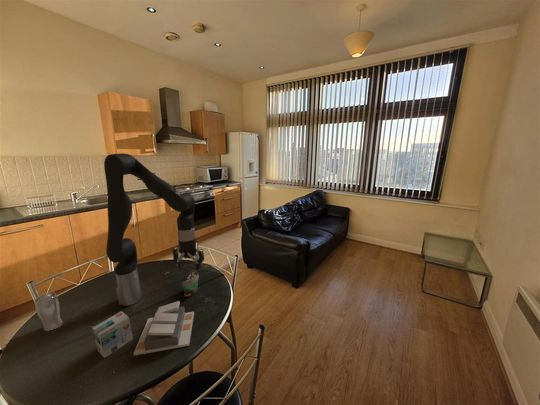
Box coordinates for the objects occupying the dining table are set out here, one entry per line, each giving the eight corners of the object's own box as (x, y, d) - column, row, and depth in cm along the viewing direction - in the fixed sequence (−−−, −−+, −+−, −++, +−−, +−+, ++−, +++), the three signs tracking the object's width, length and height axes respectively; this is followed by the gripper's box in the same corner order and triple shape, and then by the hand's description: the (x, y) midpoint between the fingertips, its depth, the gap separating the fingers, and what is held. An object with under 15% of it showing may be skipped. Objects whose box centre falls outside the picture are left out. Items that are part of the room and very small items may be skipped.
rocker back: (157, 316, 95) (156, 314, 95) (159, 309, 100) (158, 307, 99) (178, 309, 97) (177, 307, 96) (179, 302, 101) (178, 300, 101)
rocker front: (147, 335, 84) (148, 332, 83) (151, 326, 88) (151, 323, 87) (173, 335, 86) (173, 332, 86) (175, 326, 90) (175, 324, 90)
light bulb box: (104, 359, 82) (98, 335, 79) (96, 350, 86) (91, 327, 83) (134, 338, 91) (130, 316, 88) (125, 331, 94) (121, 310, 92)
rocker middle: (152, 323, 89) (152, 320, 89) (155, 315, 93) (155, 312, 93) (175, 323, 92) (176, 321, 91) (177, 316, 96) (178, 313, 95)
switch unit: (133, 355, 83) (131, 343, 82) (148, 320, 100) (146, 309, 99) (189, 345, 88) (187, 333, 86) (194, 313, 105) (193, 303, 103)
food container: (195, 299, 114) (193, 282, 112) (183, 299, 114) (181, 282, 112) (202, 285, 126) (201, 269, 124) (192, 284, 126) (190, 269, 124)
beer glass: (68, 322, 99) (60, 294, 95) (48, 334, 93) (39, 304, 89) (58, 318, 101) (50, 290, 97) (38, 330, 95) (29, 300, 91)
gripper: (167, 239, 97) (171, 272, 101) (197, 241, 95) (200, 274, 99) (176, 233, 104) (180, 263, 108) (205, 235, 102) (207, 266, 106)
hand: (189, 269), depth 104 cm, fingers open, 8 cm apart
